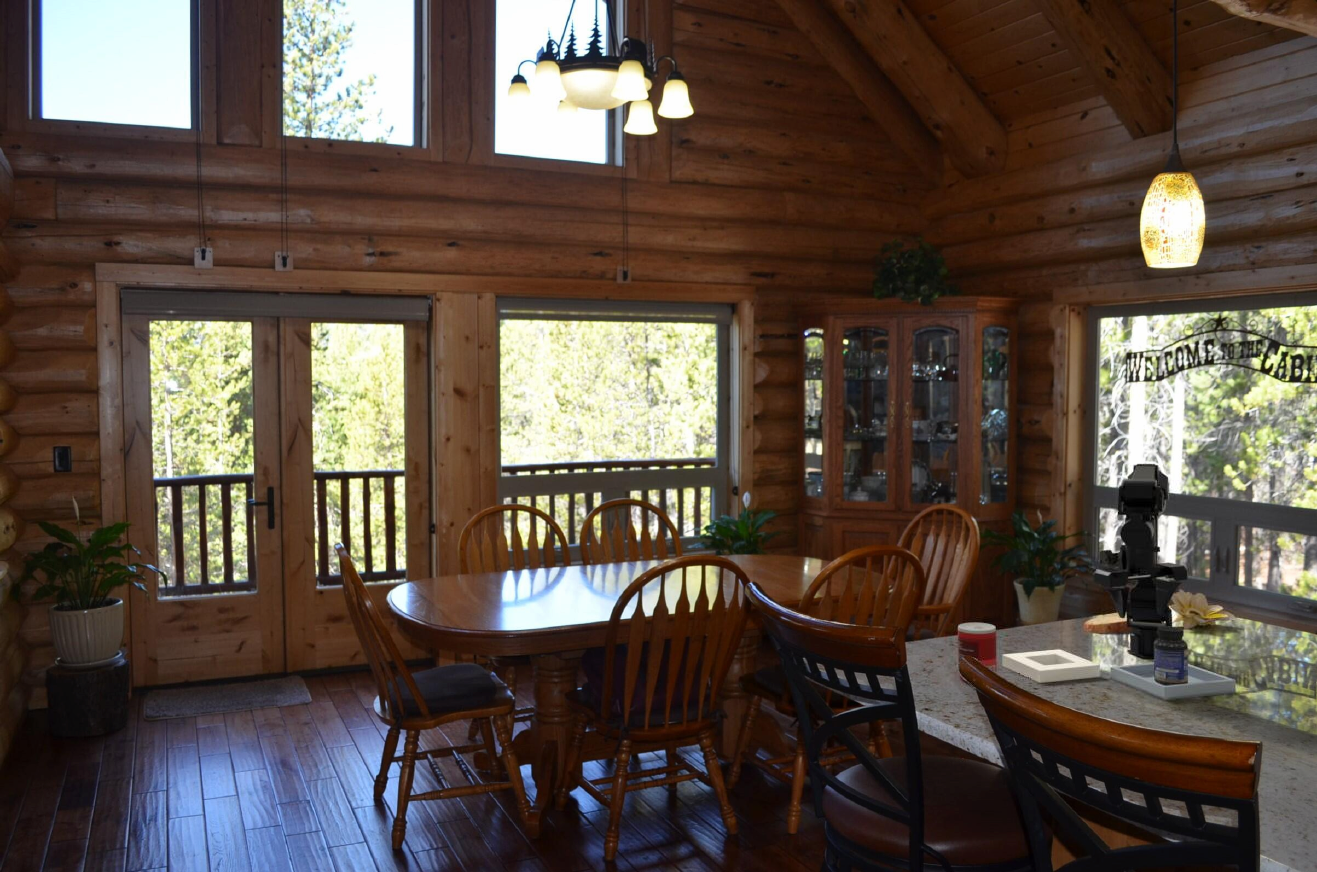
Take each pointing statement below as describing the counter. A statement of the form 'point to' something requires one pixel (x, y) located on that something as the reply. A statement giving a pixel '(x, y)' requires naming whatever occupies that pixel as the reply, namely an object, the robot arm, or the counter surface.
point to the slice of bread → (1107, 624)
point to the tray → (1197, 685)
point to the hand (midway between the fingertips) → (1141, 615)
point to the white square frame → (1051, 665)
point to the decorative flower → (1197, 610)
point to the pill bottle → (1170, 657)
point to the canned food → (978, 643)
